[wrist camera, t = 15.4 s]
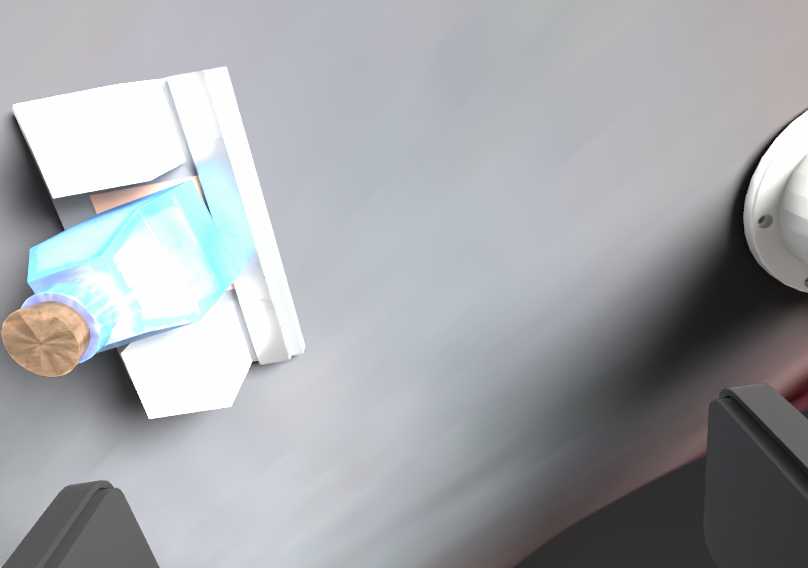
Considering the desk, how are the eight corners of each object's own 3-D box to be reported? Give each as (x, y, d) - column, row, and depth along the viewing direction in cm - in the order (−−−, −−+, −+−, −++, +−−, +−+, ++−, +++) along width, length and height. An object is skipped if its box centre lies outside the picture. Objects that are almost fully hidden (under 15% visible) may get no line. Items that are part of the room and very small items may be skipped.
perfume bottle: (191, 178, 32) (61, 252, 21) (239, 274, 34) (145, 385, 23) (100, 212, 33) (-70, 299, 22) (153, 302, 35) (23, 422, 24)
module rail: (305, 346, 38) (288, 397, 32) (137, 373, 38) (92, 427, 33) (226, 66, 31) (188, 70, 25) (22, 105, 31) (-58, 118, 26)
